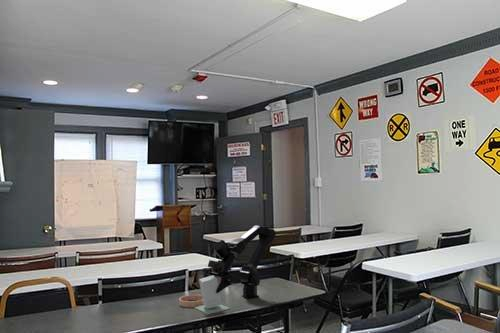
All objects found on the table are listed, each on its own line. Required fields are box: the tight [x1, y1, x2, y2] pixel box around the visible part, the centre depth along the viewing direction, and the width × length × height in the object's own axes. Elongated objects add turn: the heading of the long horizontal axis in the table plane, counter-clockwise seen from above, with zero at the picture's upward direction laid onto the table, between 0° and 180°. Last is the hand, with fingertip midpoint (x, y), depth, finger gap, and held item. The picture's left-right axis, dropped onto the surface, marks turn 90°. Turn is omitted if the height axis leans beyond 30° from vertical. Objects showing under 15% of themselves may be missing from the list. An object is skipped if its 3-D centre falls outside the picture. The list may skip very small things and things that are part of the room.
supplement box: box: [198, 275, 223, 309], centre depth 191 cm, size 7×7×13 cm
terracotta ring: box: [178, 294, 204, 308], centre depth 201 cm, size 13×13×2 cm
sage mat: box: [194, 304, 231, 315], centre depth 191 cm, size 12×12×1 cm
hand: (209, 291), depth 190 cm, fingers closed on supplement box, 9 cm apart
